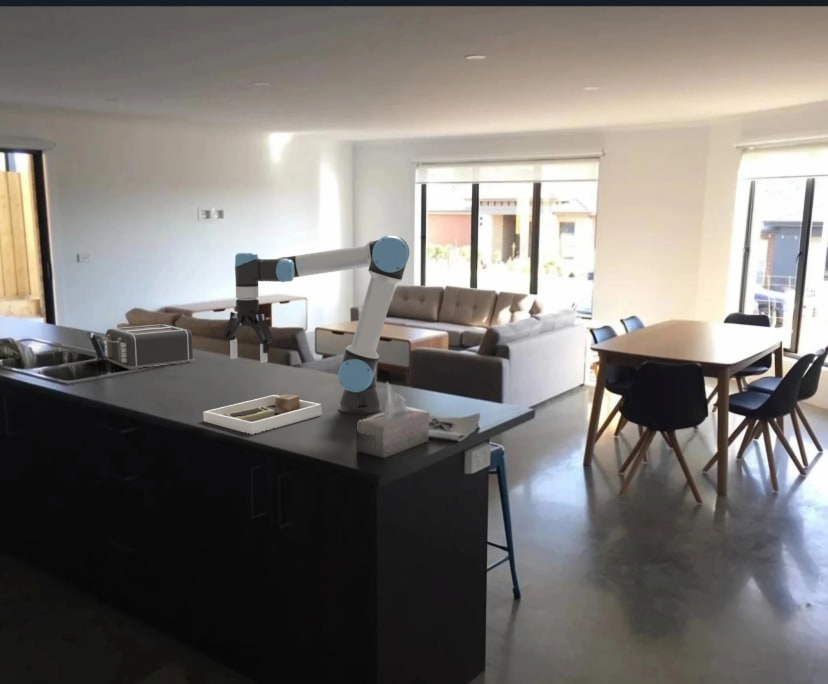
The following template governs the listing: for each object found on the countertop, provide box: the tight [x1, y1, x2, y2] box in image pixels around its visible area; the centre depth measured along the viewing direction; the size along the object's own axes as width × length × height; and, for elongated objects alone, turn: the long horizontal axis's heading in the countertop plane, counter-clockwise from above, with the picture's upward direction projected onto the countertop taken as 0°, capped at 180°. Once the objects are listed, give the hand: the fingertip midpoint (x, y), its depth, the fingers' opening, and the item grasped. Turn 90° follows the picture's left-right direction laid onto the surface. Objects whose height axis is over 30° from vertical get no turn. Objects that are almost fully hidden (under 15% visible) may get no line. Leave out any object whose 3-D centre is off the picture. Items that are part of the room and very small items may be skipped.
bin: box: [202, 394, 323, 435], centre depth 252 cm, size 24×32×4 cm
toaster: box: [101, 324, 196, 371], centre depth 348 cm, size 30×36×17 cm
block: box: [274, 393, 300, 415], centre depth 260 cm, size 6×6×6 cm
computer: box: [223, 406, 275, 422], centre depth 249 cm, size 16×8×3 cm, turn 139°
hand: (248, 360), depth 251 cm, fingers open, 13 cm apart
